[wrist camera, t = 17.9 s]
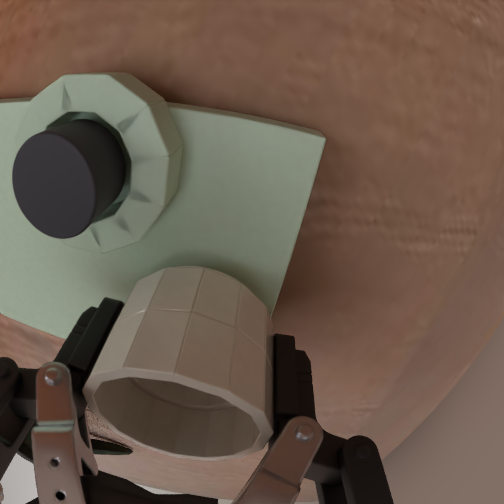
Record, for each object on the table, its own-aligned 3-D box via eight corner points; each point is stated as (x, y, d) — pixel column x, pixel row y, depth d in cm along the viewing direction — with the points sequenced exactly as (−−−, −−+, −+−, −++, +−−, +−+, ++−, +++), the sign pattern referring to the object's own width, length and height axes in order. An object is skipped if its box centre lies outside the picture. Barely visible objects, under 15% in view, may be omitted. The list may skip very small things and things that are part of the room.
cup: (290, 275, 11) (298, 393, 7) (254, 375, 14) (249, 469, 10) (128, 242, 11) (63, 341, 7) (134, 350, 14) (101, 437, 10)
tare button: (130, 121, 8) (97, 136, 6) (125, 217, 10) (98, 249, 8) (48, 117, 8) (8, 131, 6) (50, 203, 10) (17, 230, 8)
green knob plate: (327, 103, 10) (347, 113, 7) (249, 365, 17) (246, 409, 15) (-26, 82, 9) (-67, 94, 6) (4, 298, 16) (-18, 327, 14)
